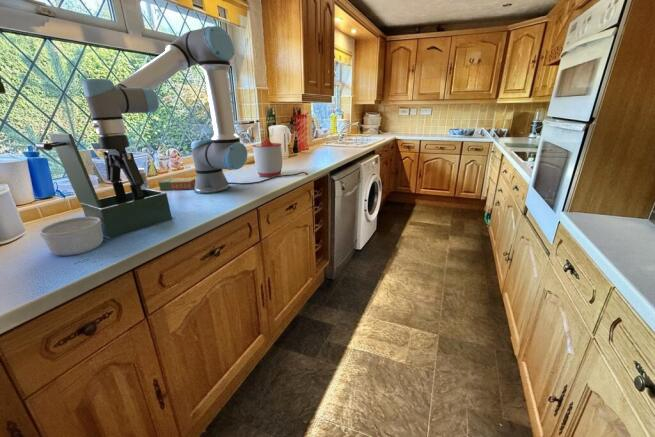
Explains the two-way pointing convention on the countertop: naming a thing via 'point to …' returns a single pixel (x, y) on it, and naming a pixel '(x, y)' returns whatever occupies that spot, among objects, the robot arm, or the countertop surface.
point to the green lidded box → (130, 212)
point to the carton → (177, 183)
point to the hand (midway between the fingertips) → (131, 203)
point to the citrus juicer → (268, 158)
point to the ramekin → (73, 235)
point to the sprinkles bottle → (143, 174)
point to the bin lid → (73, 167)
